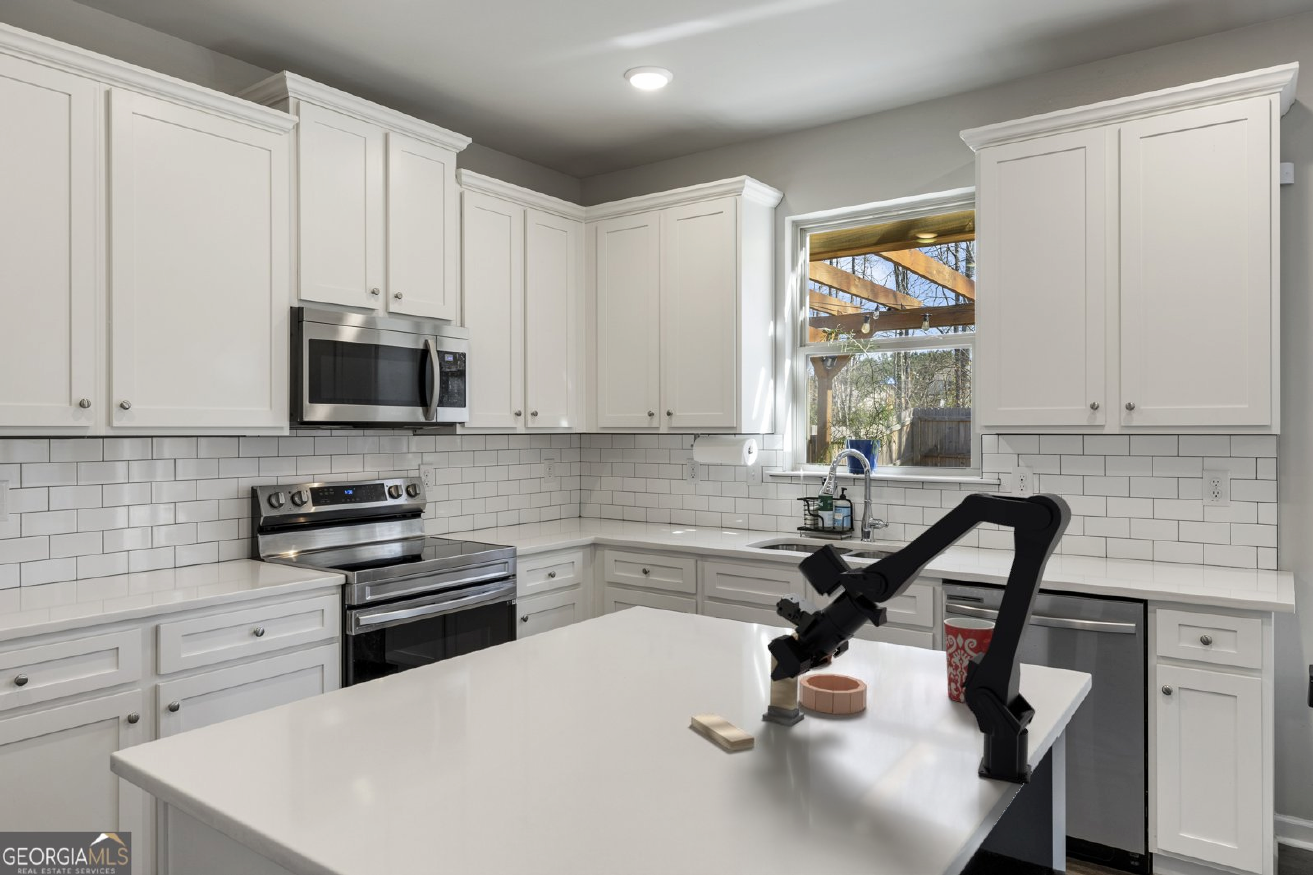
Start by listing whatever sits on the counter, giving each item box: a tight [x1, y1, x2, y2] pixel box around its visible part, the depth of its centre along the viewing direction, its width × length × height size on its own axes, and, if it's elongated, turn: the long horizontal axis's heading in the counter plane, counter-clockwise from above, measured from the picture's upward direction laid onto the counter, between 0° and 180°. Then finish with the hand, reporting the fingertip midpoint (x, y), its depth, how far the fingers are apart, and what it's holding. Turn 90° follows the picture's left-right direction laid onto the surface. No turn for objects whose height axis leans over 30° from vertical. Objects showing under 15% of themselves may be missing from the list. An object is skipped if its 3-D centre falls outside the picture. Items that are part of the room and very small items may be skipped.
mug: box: [943, 617, 996, 704], centre depth 149 cm, size 13×9×14 cm
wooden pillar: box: [761, 638, 805, 727], centre depth 137 cm, size 5×5×13 cm
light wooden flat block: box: [690, 712, 755, 751], centre depth 129 cm, size 12×4×2 cm, turn 27°
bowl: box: [798, 673, 868, 715], centre depth 146 cm, size 11×11×4 cm
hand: (776, 676), depth 138 cm, fingers open, 3 cm apart
